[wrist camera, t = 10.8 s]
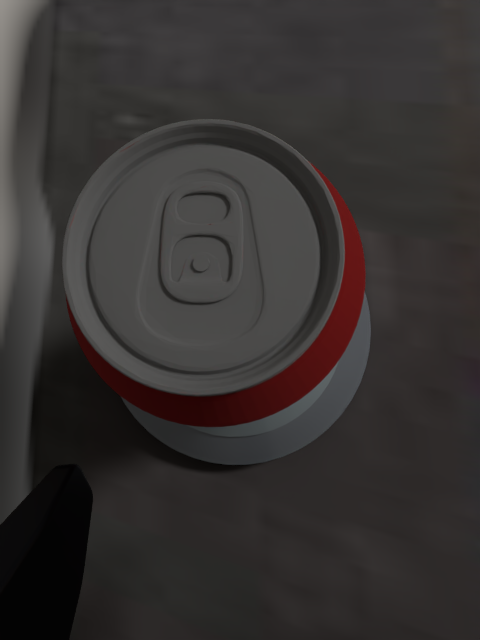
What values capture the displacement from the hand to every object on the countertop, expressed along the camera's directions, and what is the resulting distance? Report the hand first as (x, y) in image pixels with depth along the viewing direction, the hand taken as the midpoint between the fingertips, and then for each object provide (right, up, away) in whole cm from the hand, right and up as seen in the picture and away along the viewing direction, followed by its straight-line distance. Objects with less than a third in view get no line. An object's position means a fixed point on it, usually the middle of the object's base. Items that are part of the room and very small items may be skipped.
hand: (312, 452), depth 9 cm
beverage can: (-1, +2, +12) cm, 12 cm away
